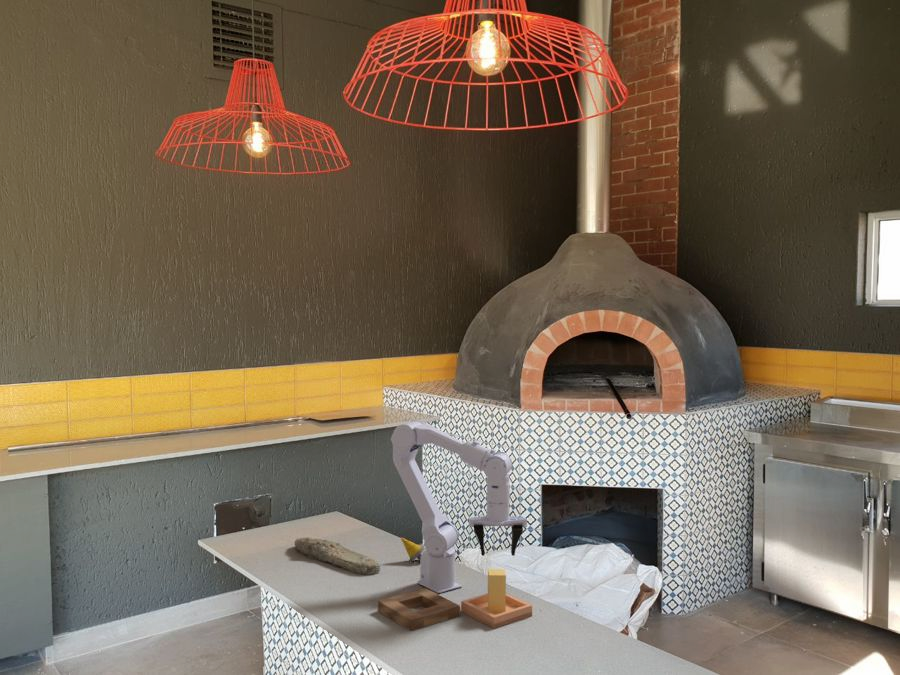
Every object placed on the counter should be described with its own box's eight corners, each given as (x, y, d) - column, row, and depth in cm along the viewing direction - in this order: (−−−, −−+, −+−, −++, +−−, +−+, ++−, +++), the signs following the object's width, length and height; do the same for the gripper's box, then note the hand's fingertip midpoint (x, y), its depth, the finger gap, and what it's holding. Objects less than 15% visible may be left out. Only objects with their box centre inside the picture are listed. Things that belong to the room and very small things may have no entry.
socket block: (377, 611, 180) (378, 600, 180) (425, 597, 189) (425, 588, 189) (411, 631, 169) (411, 620, 169) (459, 616, 178) (459, 605, 177)
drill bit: (420, 568, 212) (396, 542, 213) (416, 570, 217) (392, 545, 218) (433, 554, 214) (408, 529, 215) (429, 556, 219) (405, 531, 220)
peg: (488, 612, 177) (489, 575, 177) (487, 606, 181) (487, 569, 181) (505, 612, 177) (505, 575, 177) (504, 606, 181) (504, 569, 181)
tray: (461, 611, 180) (461, 601, 180) (498, 600, 188) (498, 590, 188) (493, 628, 171) (494, 617, 171) (532, 615, 178) (532, 605, 178)
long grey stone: (361, 584, 202) (388, 577, 209) (363, 565, 201) (390, 558, 209) (284, 549, 225) (310, 543, 232) (285, 531, 225) (312, 526, 232)
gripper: (470, 505, 186) (469, 559, 187) (528, 505, 186) (528, 559, 187) (469, 498, 193) (468, 550, 194) (525, 498, 193) (525, 550, 194)
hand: (497, 554), depth 191 cm, fingers open, 7 cm apart
